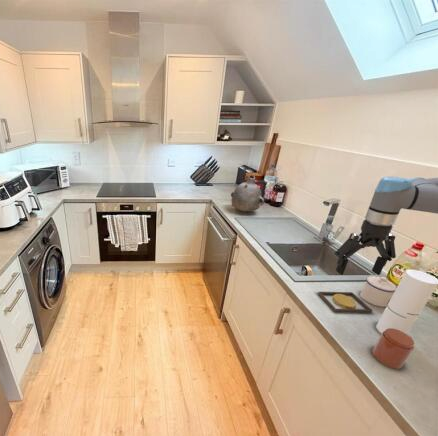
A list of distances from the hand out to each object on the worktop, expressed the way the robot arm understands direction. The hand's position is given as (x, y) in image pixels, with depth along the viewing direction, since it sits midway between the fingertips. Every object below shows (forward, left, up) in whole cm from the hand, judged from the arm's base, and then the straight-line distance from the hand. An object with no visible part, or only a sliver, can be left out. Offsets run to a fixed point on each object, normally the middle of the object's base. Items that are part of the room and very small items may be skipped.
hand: (357, 272), depth 90 cm
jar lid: (0, 0, -14) cm, 14 cm away
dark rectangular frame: (0, 0, -16) cm, 16 cm away
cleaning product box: (-9, -123, -16) cm, 124 cm away
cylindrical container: (-6, +14, -16) cm, 22 cm away
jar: (+4, +24, -16) cm, 29 cm away
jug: (+4, -102, -16) cm, 103 cm away
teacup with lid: (-15, -4, -16) cm, 22 cm away
